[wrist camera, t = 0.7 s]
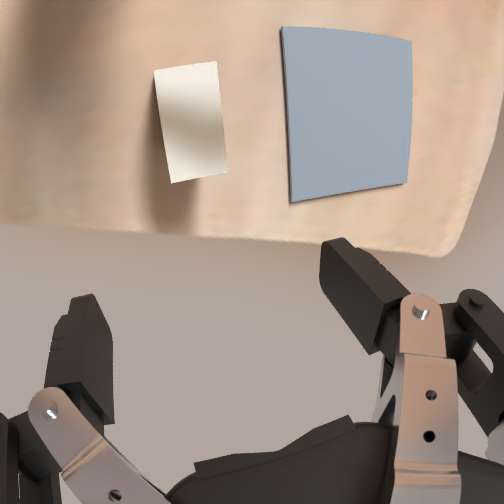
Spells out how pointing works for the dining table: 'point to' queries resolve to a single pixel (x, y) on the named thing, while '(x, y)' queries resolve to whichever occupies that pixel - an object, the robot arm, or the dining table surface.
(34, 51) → the dining table surface
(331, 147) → the mat
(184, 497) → the robot arm
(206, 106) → the slab
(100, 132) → the dining table surface
